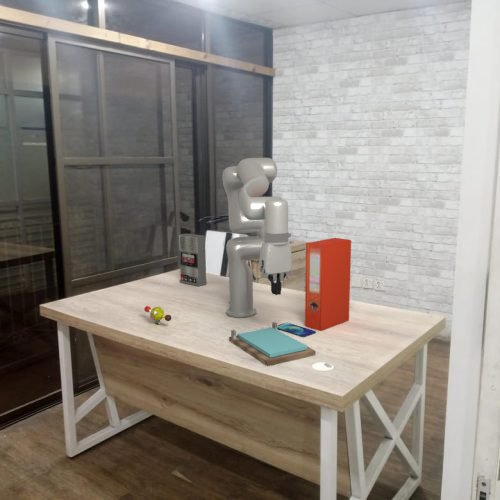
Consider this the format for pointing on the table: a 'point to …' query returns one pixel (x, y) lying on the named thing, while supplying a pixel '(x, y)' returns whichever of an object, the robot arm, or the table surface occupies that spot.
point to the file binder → (327, 283)
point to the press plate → (271, 342)
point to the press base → (265, 358)
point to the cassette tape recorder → (192, 259)
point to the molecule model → (157, 314)
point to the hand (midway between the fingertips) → (276, 293)
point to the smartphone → (295, 329)
